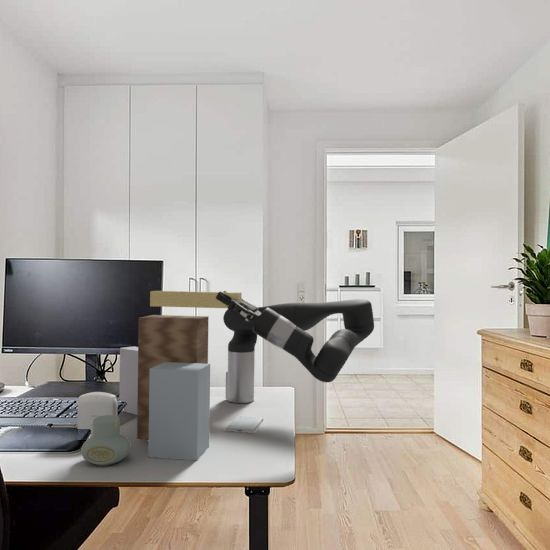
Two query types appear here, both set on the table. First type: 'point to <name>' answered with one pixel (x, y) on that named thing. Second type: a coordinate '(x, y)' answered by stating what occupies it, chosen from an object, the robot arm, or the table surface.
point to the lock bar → (190, 299)
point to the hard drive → (244, 424)
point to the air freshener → (106, 442)
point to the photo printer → (94, 408)
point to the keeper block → (179, 410)
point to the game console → (129, 378)
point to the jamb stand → (166, 353)
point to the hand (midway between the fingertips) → (220, 294)
